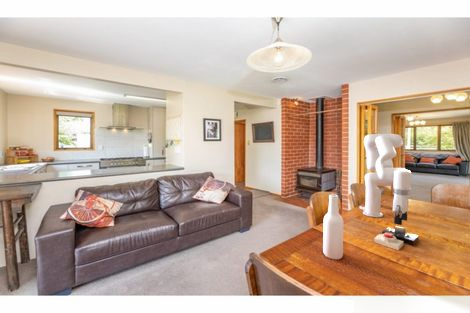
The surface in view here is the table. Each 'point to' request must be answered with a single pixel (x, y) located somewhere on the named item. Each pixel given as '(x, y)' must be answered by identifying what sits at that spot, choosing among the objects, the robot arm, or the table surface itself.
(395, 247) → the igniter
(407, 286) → the table surface
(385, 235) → the button
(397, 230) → the hob knob
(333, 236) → the alcohol
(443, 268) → the table surface
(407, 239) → the panel
